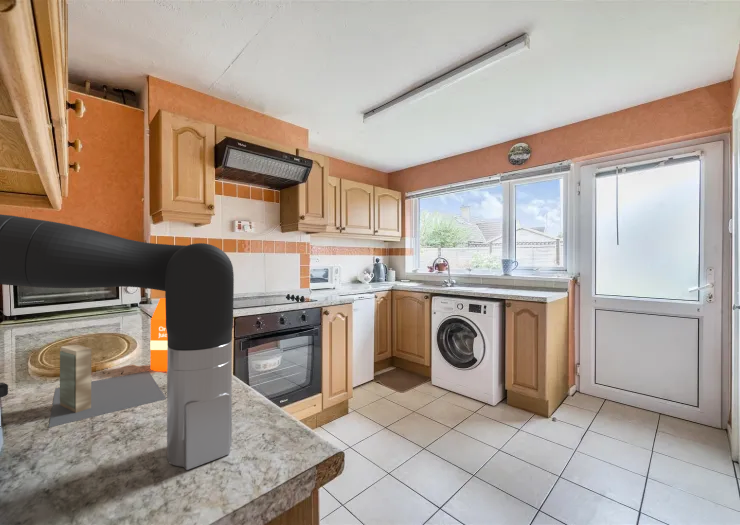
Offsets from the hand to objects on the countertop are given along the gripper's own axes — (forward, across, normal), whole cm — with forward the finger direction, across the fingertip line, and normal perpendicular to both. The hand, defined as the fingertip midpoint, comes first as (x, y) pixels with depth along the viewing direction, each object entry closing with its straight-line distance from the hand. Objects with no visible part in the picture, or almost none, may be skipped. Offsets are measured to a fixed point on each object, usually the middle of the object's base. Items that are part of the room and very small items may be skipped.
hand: (6, 388), depth 57 cm
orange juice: (+36, +10, +8) cm, 38 cm away
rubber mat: (+16, +2, +8) cm, 18 cm away
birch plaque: (+10, 0, +7) cm, 12 cm away
